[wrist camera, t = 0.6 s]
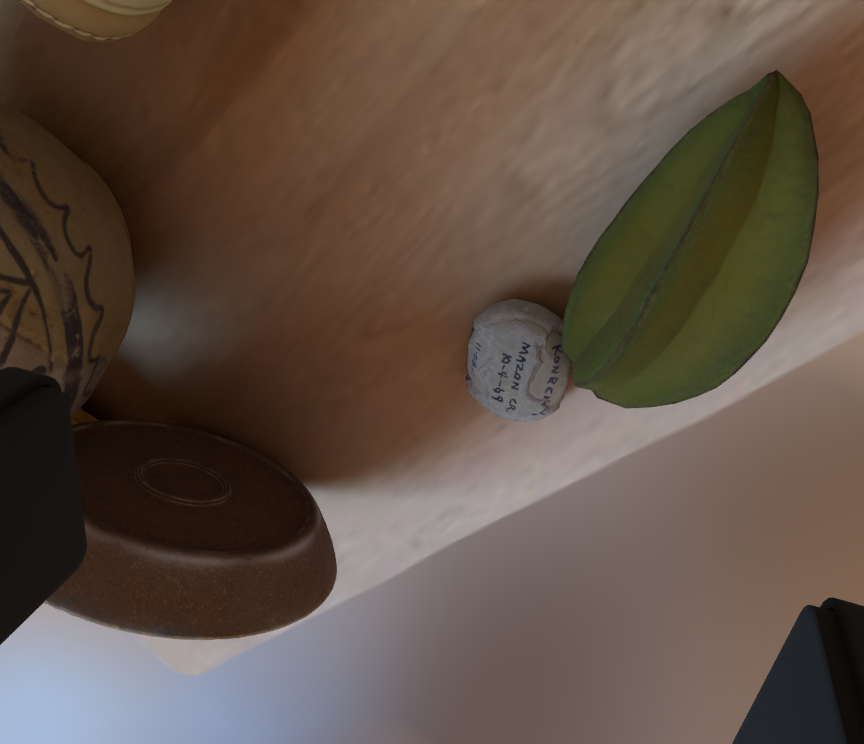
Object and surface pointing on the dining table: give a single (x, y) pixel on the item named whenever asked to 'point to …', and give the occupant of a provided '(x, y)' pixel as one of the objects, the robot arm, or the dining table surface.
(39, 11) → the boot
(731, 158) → the fruit
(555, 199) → the dining table surface
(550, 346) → the fossil
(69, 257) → the decorative pitcher
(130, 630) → the plant saucer
